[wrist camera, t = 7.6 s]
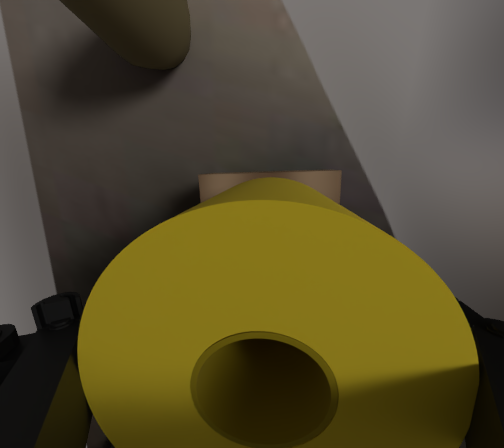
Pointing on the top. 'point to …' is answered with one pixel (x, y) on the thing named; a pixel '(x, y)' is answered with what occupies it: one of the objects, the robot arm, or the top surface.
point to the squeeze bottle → (139, 28)
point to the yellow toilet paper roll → (275, 332)
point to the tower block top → (316, 179)
